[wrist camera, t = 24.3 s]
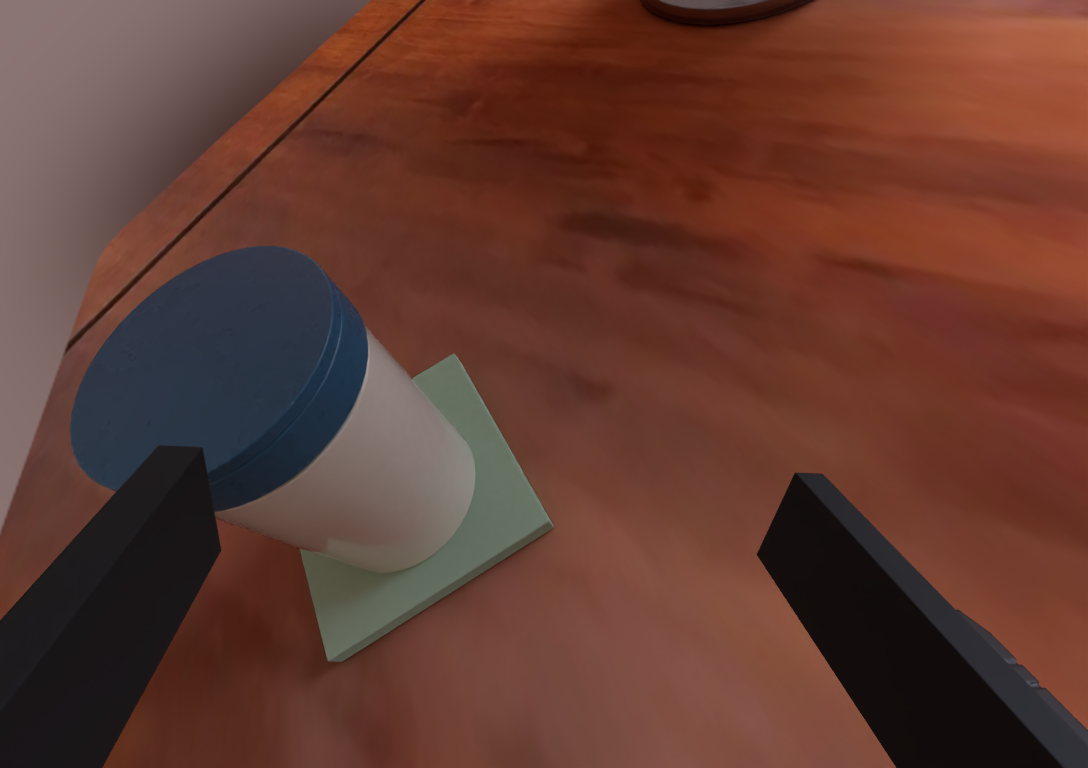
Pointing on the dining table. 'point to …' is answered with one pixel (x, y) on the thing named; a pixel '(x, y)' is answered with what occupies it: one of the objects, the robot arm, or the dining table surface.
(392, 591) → the sticky note pad
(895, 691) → the robot arm
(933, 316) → the dining table surface
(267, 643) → the dining table surface
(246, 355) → the jar lid
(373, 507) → the jam jar
